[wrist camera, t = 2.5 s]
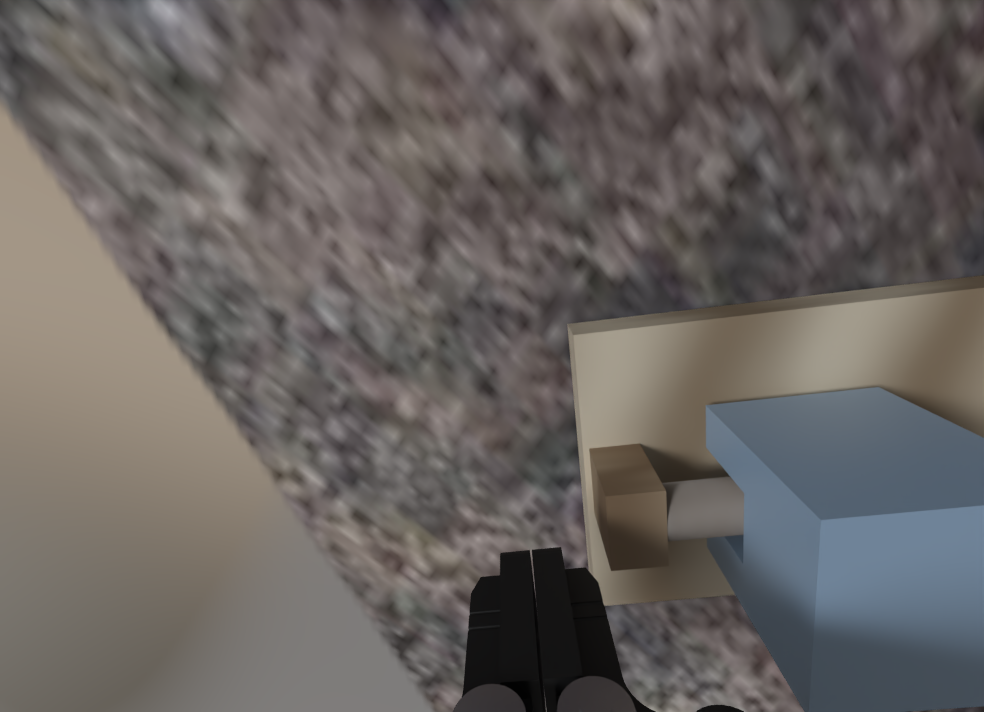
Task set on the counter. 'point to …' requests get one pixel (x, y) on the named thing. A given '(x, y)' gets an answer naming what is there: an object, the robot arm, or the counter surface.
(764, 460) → the blue sleeve
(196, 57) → the counter surface
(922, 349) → the rail board
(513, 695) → the robot arm
